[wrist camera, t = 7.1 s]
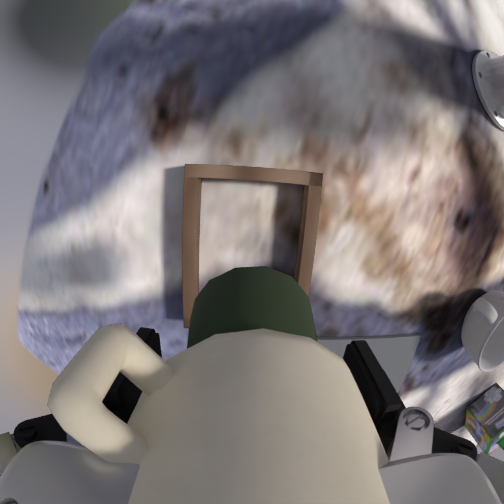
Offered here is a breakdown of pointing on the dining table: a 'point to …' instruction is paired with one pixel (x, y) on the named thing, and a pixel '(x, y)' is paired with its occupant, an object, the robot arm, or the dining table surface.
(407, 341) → the rubber mat
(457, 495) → the robot arm
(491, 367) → the teacup
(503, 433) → the chalk box
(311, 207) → the collar
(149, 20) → the dining table surface
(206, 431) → the character mug
